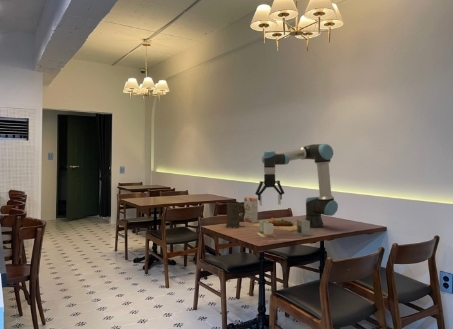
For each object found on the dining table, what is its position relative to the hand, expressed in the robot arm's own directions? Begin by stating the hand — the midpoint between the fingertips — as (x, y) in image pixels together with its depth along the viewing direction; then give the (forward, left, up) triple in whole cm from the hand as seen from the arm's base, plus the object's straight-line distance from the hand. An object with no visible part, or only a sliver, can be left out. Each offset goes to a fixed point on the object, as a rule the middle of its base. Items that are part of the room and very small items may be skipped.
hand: (270, 204), depth 246 cm
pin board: (+2, -3, -22) cm, 22 cm away
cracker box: (-5, -61, -22) cm, 65 cm away
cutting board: (-18, -32, -23) cm, 43 cm away
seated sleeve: (+2, -7, -21) cm, 22 cm away
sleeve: (+2, +2, -21) cm, 21 cm away
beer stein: (+13, -43, -22) cm, 50 cm away
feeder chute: (-26, -2, -22) cm, 34 cm away
